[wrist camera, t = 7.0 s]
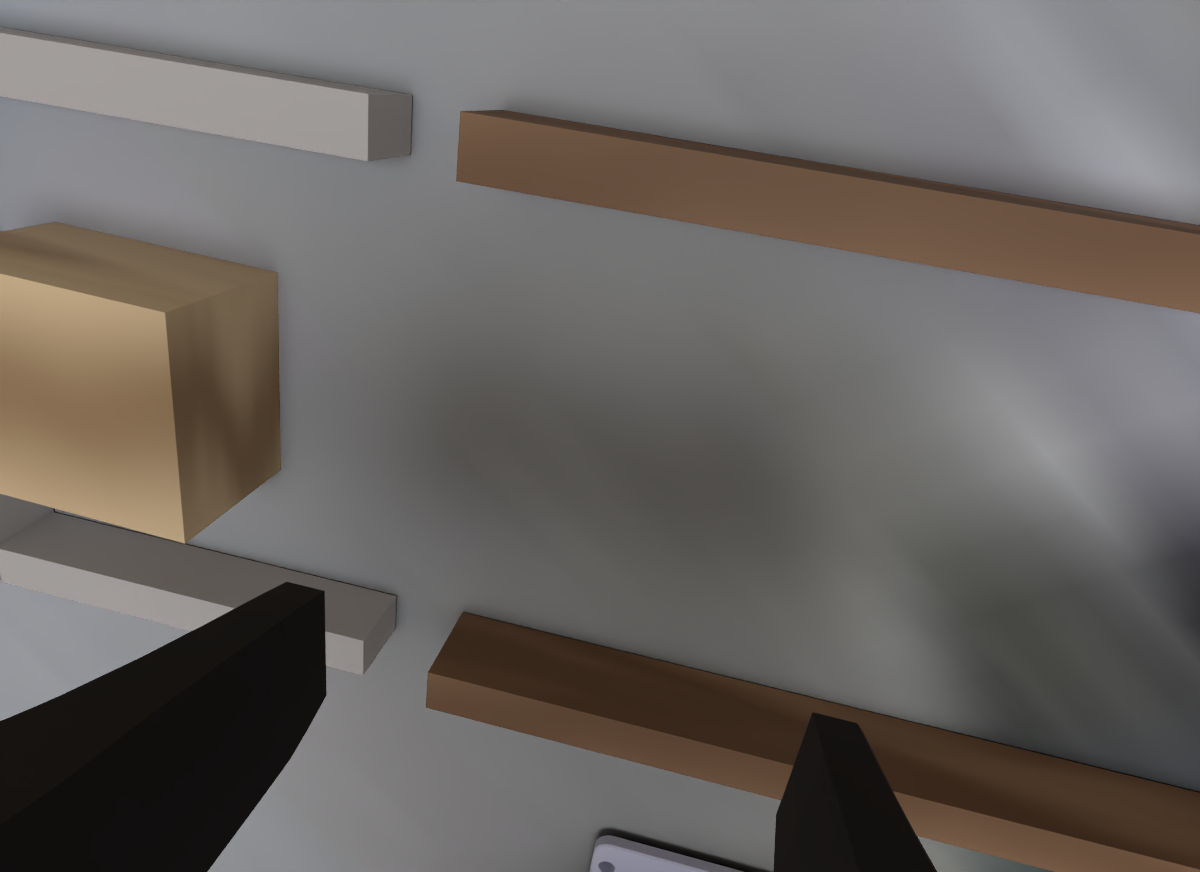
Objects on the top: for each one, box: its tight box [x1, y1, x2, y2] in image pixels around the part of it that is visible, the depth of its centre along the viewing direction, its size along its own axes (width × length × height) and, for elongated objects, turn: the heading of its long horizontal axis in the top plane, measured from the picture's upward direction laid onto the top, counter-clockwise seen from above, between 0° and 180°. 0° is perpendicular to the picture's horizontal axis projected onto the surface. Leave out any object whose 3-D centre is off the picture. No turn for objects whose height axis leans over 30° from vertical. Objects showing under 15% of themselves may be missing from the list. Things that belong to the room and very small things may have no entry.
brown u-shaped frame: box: [426, 110, 1200, 872], centre depth 16 cm, size 14×23×2 cm, turn 82°
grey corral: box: [0, 27, 412, 675], centre depth 19 cm, size 14×12×2 cm
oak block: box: [0, 222, 281, 544], centre depth 18 cm, size 6×6×4 cm
